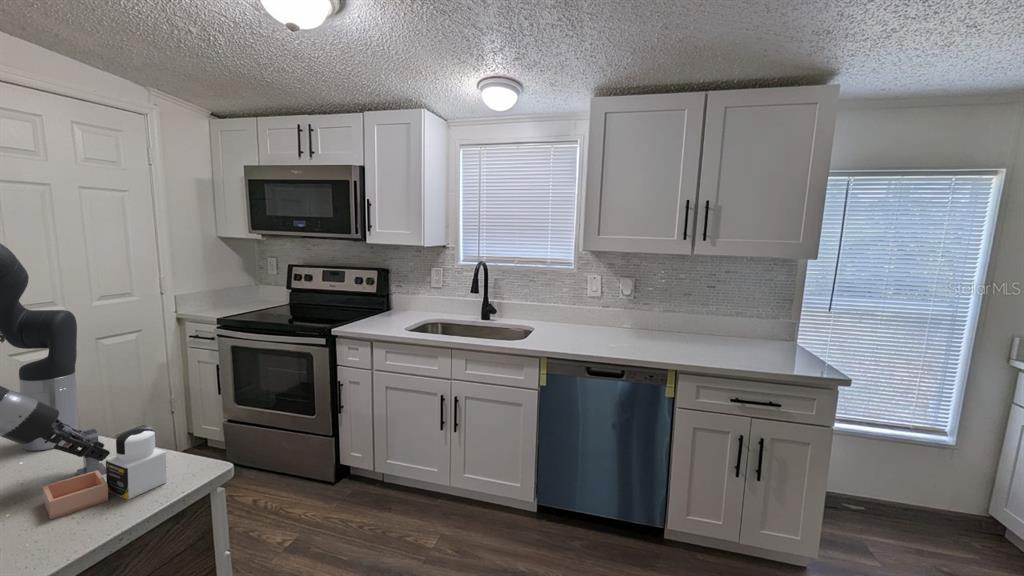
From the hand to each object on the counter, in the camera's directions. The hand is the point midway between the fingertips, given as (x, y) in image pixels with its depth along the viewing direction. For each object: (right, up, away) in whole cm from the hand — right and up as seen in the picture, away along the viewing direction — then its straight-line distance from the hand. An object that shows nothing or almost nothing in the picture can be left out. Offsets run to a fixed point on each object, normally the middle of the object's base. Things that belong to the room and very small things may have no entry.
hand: (102, 452), depth 93 cm
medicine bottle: (+12, -5, -5) cm, 14 cm away
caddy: (+5, -5, -11) cm, 13 cm away
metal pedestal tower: (-1, -4, -1) cm, 5 cm away
